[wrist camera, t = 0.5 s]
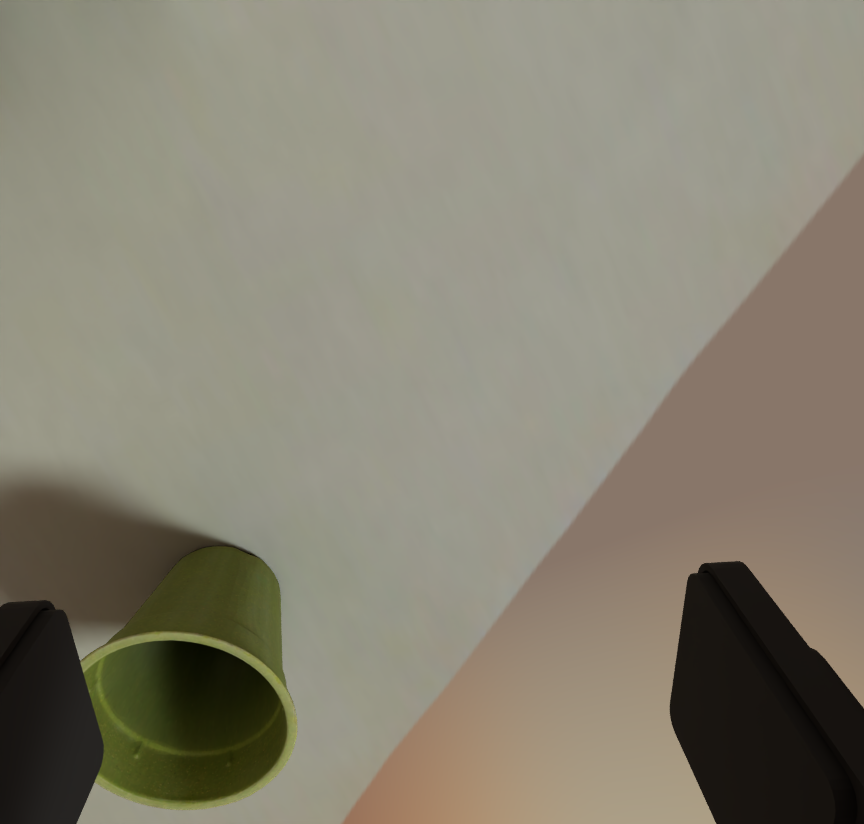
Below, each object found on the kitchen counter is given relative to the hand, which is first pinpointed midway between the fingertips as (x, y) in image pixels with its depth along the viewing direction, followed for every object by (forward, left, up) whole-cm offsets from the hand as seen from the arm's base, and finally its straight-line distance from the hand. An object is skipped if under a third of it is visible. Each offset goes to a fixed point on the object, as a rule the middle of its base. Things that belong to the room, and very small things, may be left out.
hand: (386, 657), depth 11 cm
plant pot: (+21, -11, -30) cm, 38 cm away
